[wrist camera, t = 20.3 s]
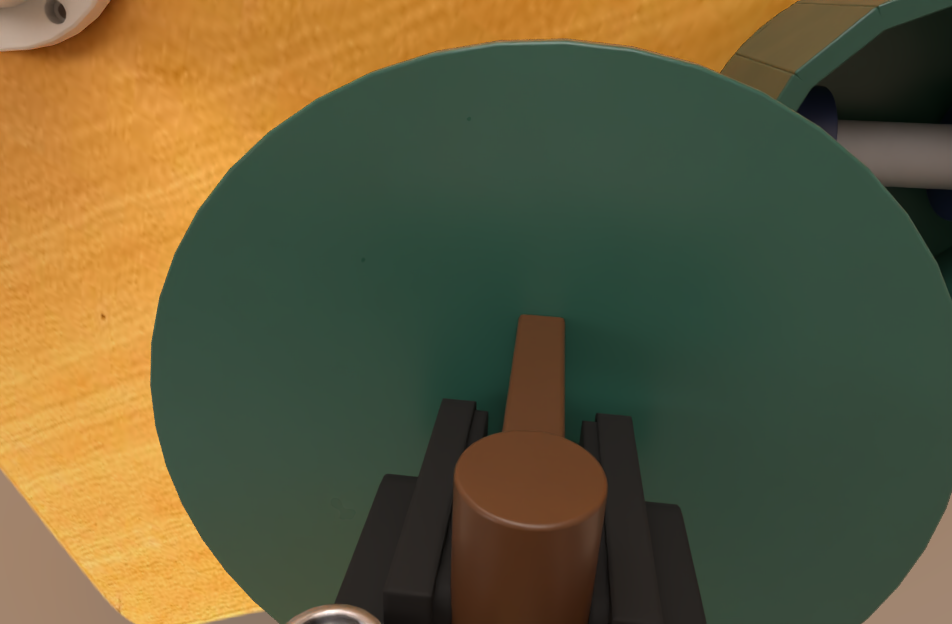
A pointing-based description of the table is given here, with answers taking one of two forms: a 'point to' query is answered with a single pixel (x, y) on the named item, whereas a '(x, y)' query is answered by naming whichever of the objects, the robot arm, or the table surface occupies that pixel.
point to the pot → (863, 75)
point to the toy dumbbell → (892, 148)
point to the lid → (559, 336)
